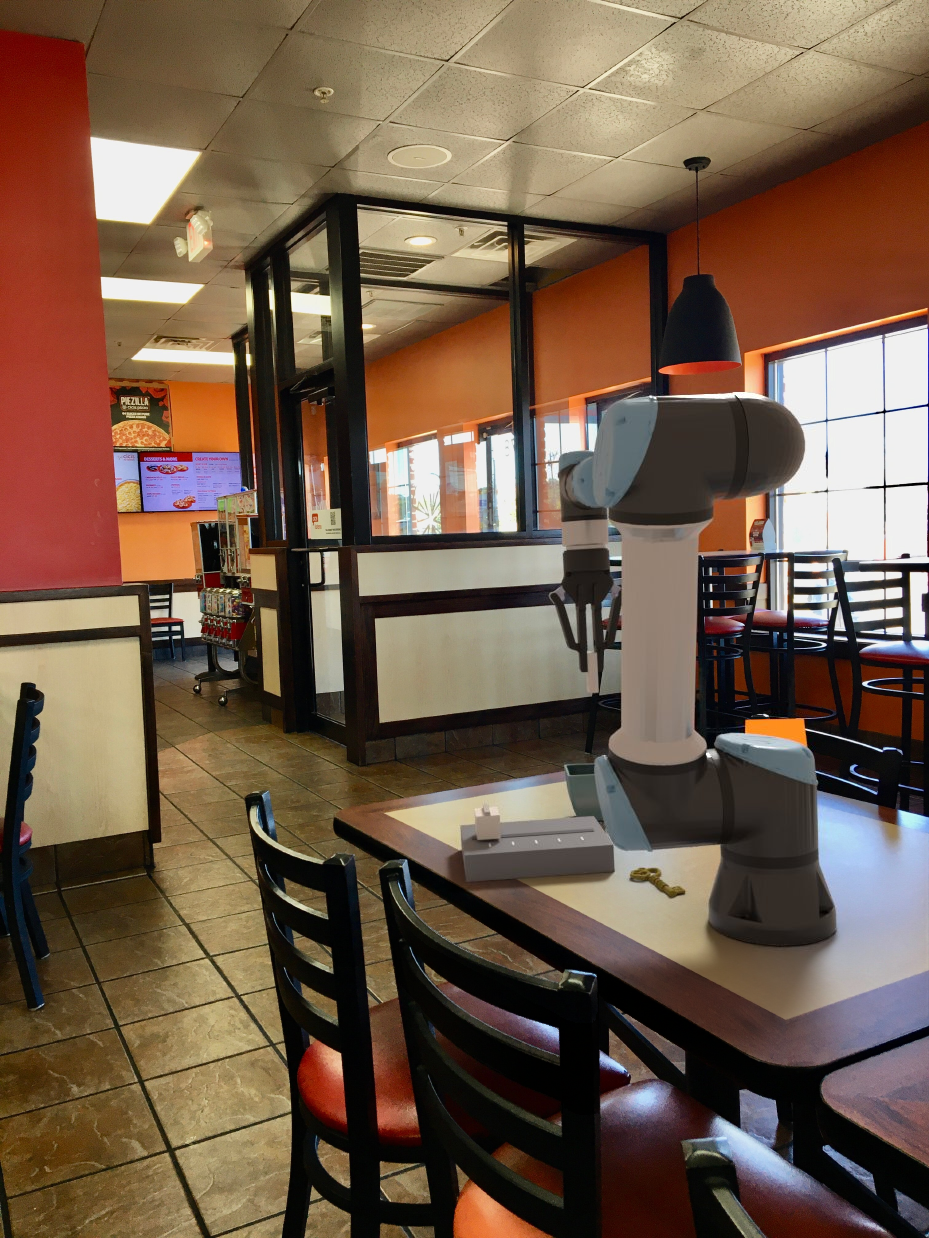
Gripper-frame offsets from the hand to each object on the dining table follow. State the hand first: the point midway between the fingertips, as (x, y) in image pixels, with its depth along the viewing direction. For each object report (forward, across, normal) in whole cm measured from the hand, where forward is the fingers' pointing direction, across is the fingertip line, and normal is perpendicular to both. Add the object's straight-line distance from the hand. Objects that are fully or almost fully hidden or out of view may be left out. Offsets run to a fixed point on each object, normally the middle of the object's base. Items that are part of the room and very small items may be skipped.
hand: (592, 691), depth 157 cm
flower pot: (+25, -1, -12) cm, 27 cm away
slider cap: (+20, +19, +9) cm, 29 cm away
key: (+25, -4, +23) cm, 34 cm away
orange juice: (+25, -26, +11) cm, 38 cm away
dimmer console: (+24, +12, +9) cm, 29 cm away
